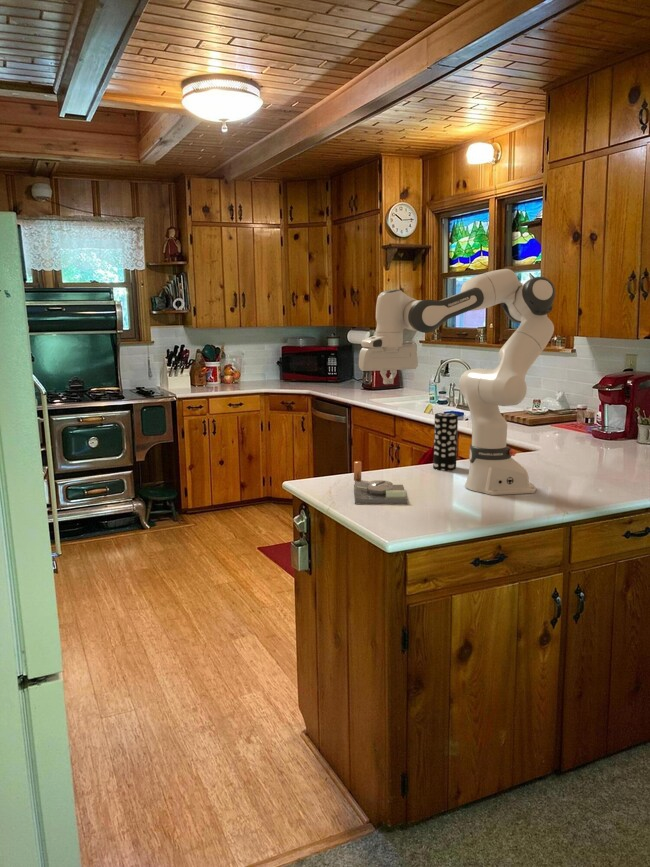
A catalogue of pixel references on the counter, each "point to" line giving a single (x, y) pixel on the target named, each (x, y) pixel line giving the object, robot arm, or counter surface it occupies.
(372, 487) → the copper silver knob
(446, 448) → the spotted tube
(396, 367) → the robot arm
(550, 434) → the counter surface
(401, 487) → the plate
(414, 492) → the counter surface
